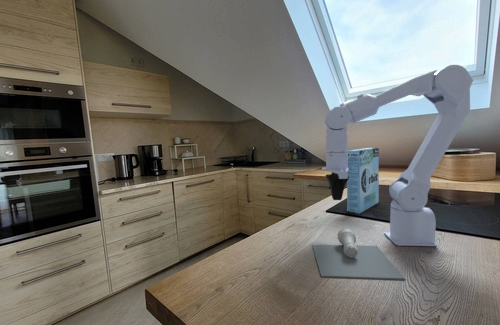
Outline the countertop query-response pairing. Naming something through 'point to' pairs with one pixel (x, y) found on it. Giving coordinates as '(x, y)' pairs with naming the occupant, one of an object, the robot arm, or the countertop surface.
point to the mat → (355, 263)
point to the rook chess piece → (348, 242)
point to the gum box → (362, 179)
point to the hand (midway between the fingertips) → (336, 199)
